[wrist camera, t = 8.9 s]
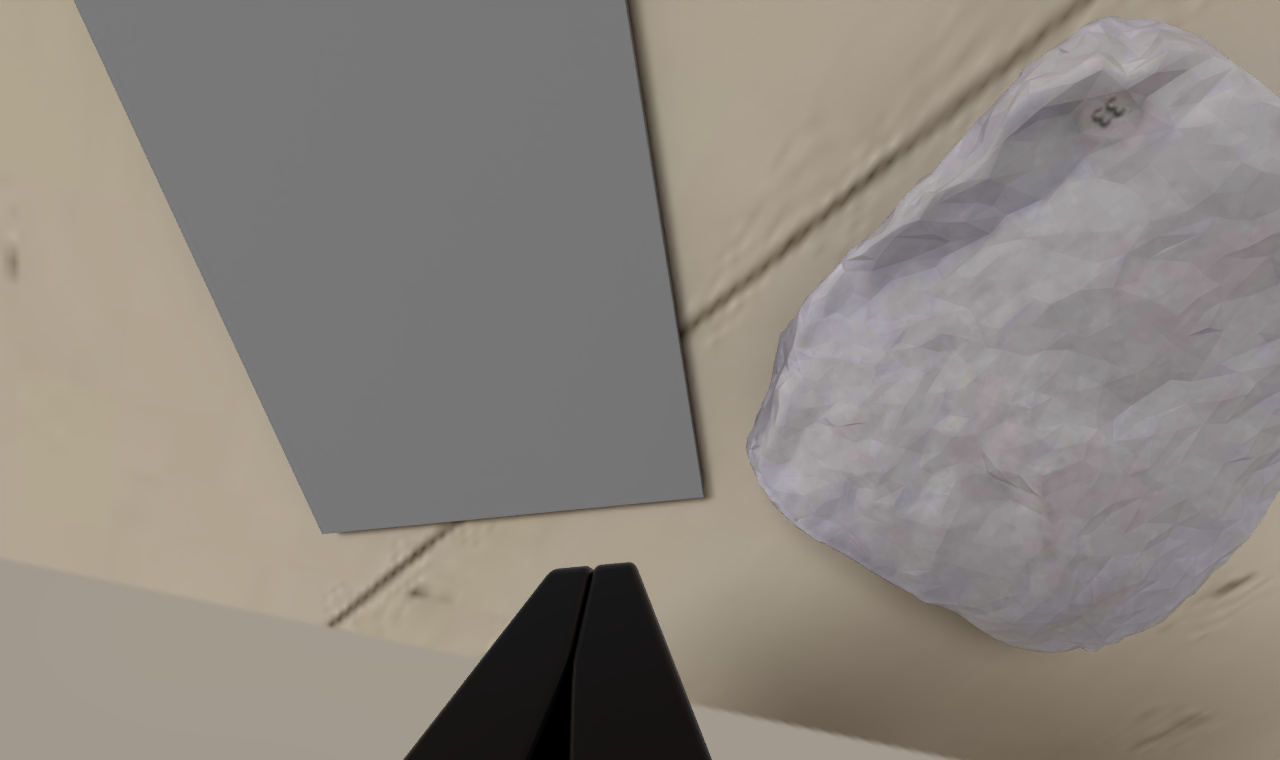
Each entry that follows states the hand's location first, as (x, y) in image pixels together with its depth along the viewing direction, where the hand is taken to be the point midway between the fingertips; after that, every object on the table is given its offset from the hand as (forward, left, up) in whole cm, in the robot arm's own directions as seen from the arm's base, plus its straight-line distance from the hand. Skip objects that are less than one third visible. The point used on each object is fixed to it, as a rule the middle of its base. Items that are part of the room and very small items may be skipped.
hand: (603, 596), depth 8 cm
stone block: (-4, 0, -10) cm, 11 cm away
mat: (+5, 0, -11) cm, 12 cm away
